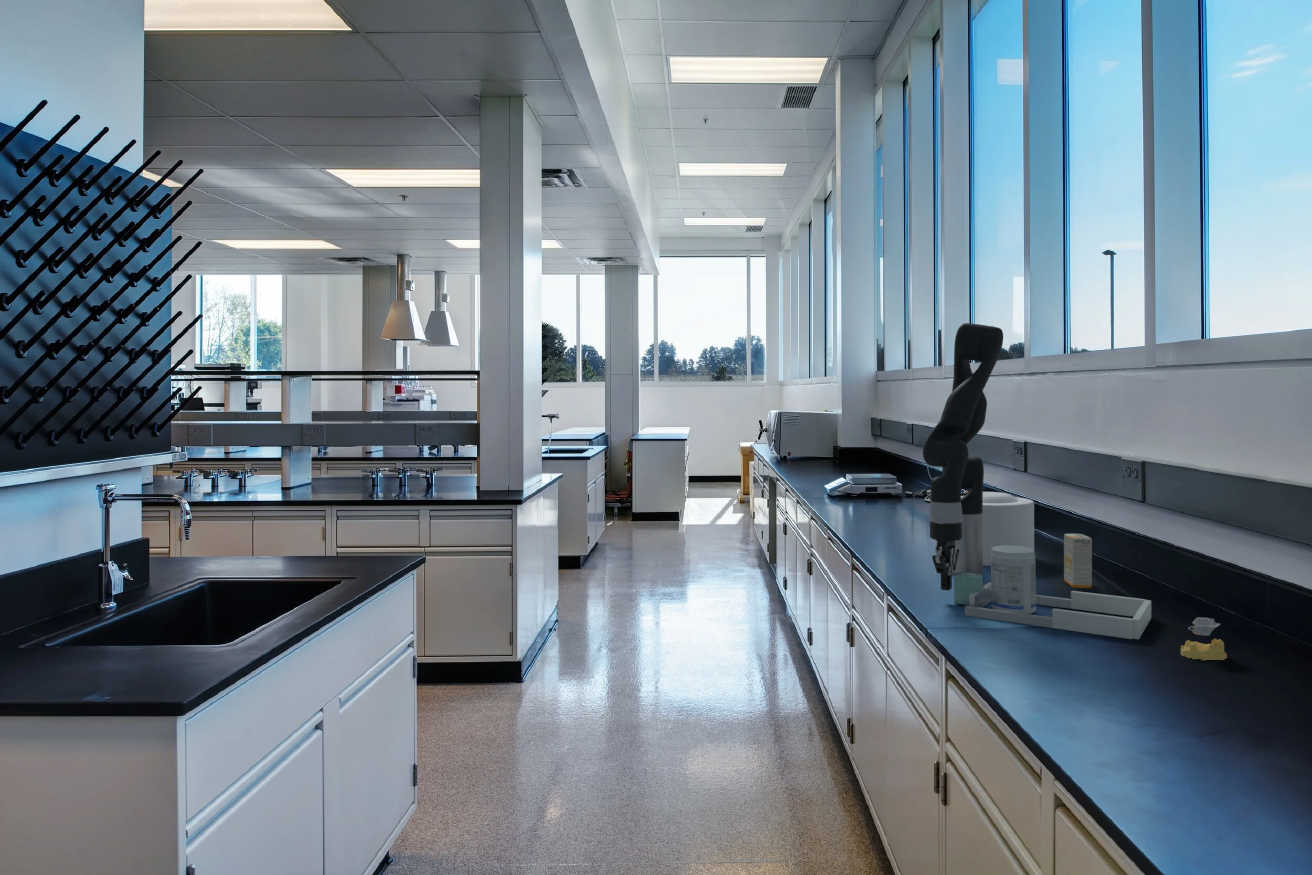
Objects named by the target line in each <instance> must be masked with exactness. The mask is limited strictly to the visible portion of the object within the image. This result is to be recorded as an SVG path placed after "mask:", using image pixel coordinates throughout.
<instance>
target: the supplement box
mask: <svg viewBox="0 0 1312 875" xmlns="http://www.w3.org/2000/svg"><path fill="white" fill-rule="evenodd" d="M1063 557H1064V558H1063V577H1064V578H1063V582H1064V583H1066V584H1068V585H1070V587H1072V588H1074V589H1075V588H1076V589H1092V587H1093V572H1092V571H1093V539H1092V538H1091V537H1090V536H1088V535H1085V534H1083V533H1064V534H1063Z"/></svg>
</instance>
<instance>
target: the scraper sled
mask: <svg viewBox="0 0 1312 875" xmlns="http://www.w3.org/2000/svg"><path fill="white" fill-rule="evenodd" d="M983 577H984V576H983V573H982V574H973V573H964V572H959V573H957V574H953V584H954V585H953V593H954V594H953V595H954V596H953V597H954V598H953V601H954V602H953V603H954V604H956V605H961V606H972V607H980V608H985V606H987V605H988V604H989V603H992V588H991V581H990V582H989V581H988V582H987V583H986V584H984V581H983V579H984V578H983ZM983 584H984V585H983Z"/></svg>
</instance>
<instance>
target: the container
mask: <svg viewBox="0 0 1312 875" xmlns="http://www.w3.org/2000/svg"><path fill="white" fill-rule="evenodd" d="M963 496H964V495H961V497H963ZM982 509H983V512H982V513H983V566H988V567H989V566H990V567H991V553H992V548H993V547H995V546H1003V545H1014V546H1024V547H1029V548H1032V549H1034V550H1035V502H1034V501H1033V500H1032V499H1029V498H1025V497H1018V496H1014V495H1012V494H1010V493H1006V492H1000V491H999V492H997V491H983V506H982Z"/></svg>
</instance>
